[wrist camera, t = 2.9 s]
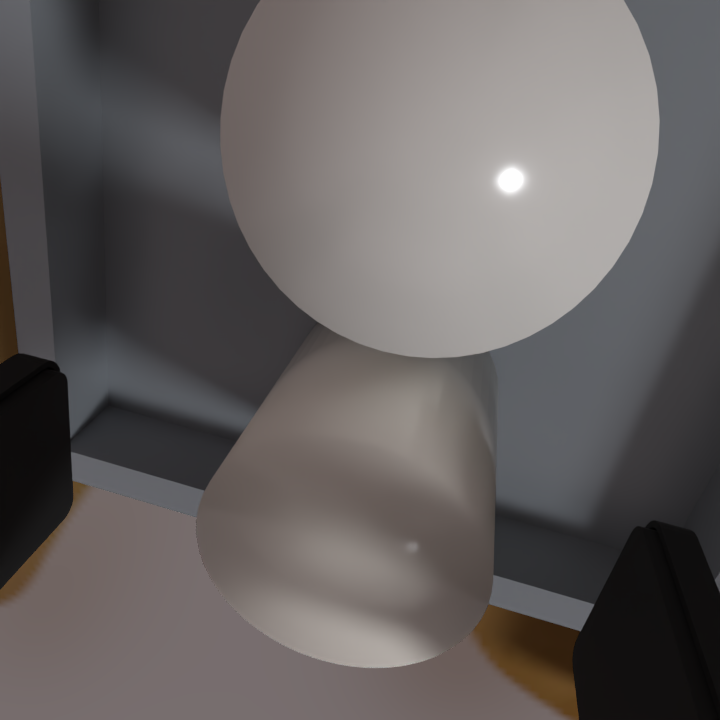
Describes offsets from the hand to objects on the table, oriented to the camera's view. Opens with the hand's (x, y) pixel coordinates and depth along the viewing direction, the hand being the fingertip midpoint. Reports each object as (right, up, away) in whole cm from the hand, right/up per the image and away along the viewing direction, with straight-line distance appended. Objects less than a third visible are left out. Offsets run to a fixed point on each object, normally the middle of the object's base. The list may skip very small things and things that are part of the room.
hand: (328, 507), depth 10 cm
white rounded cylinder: (+2, +7, 0) cm, 7 cm away
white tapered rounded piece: (+1, +2, +3) cm, 4 cm away
